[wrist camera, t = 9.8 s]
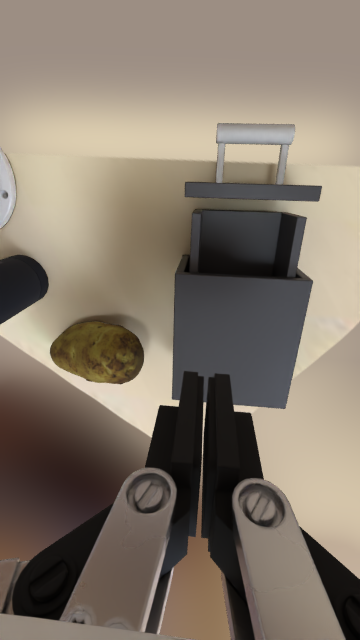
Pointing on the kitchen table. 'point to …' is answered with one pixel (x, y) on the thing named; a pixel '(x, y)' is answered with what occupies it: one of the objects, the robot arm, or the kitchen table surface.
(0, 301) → the pepper grinder
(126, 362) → the potato
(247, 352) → the dark gray cabinet
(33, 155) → the kitchen table surface
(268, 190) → the handled dark box
